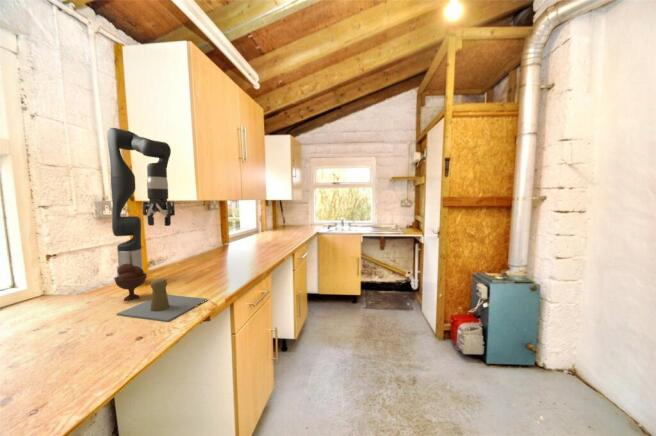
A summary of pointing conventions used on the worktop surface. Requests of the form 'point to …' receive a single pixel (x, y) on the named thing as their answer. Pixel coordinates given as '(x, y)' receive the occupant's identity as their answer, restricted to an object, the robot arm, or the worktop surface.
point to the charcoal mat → (176, 308)
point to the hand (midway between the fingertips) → (159, 225)
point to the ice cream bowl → (130, 279)
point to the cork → (159, 295)
